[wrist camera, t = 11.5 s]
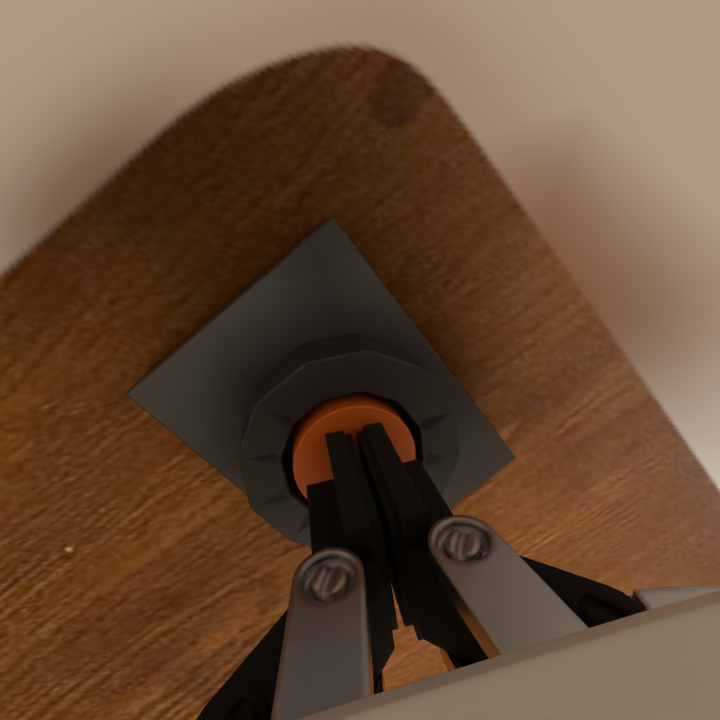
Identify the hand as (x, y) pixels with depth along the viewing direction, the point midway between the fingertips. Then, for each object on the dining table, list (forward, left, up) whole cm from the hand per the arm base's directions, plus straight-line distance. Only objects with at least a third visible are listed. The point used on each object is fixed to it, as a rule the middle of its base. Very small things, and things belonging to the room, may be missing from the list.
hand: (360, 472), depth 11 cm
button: (0, 0, -2) cm, 2 cm away
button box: (0, 0, -4) cm, 4 cm away
